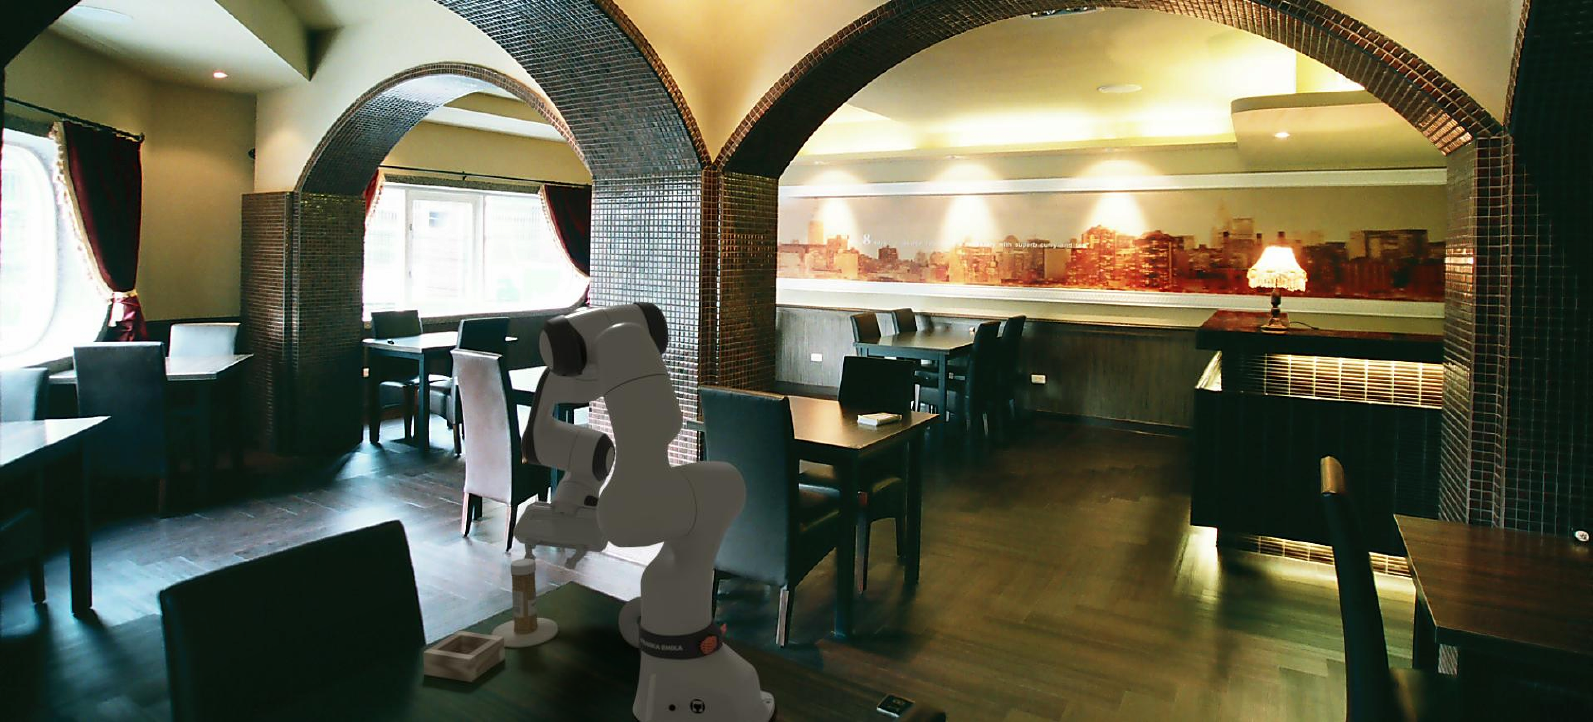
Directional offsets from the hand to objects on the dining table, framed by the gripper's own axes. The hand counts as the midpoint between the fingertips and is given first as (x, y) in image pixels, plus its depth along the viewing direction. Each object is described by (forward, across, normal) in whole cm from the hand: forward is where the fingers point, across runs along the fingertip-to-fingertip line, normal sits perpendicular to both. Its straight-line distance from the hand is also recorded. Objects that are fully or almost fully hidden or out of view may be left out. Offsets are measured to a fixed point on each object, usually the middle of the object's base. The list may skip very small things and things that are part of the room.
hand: (548, 565), depth 181 cm
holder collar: (+24, -2, -10) cm, 26 cm away
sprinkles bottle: (+13, 0, +1) cm, 13 cm away
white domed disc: (+14, 0, +1) cm, 14 cm away
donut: (+13, +25, +2) cm, 29 cm away
